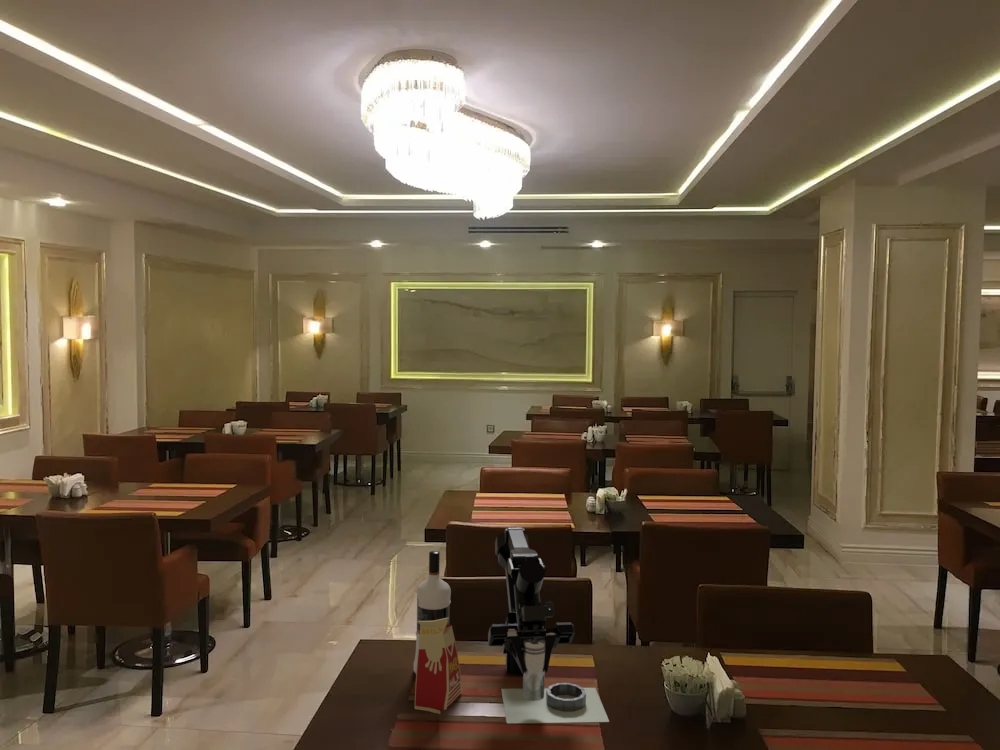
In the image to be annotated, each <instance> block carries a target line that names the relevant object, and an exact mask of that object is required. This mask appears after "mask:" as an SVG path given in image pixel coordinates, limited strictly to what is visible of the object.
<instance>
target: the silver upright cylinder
mask: <svg viewBox="0 0 1000 750" xmlns="http://www.w3.org/2000/svg"><path fill="white" fill-rule="evenodd" d="M524 668H525V673H524V674H523V675H522V689H523V697H524V698H525V699H527V700H530V701H538V700H541V699H543V698H544V688H545V639H544V638H527V639H525V640H524Z"/></svg>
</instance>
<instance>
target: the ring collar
mask: <svg viewBox="0 0 1000 750" xmlns="http://www.w3.org/2000/svg"><path fill="white" fill-rule="evenodd" d="M546 688H547V689H546V702H547V705H548V706H550V707H551V708H553V709H555V710H559V711H563V712H574V711H577V710H580V709H583V707H584V706H585V705H586V692H585V689H584V688H585V687H583V686H581V685H579V684H574V683H572V682H557V683H554V684H550V685H548V687H546ZM558 695H570V696H574V697H576V698H574V699H563V698H559V697H556V696H558Z"/></svg>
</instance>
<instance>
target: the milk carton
mask: <svg viewBox="0 0 1000 750" xmlns="http://www.w3.org/2000/svg"><path fill="white" fill-rule="evenodd" d="M448 618H449V619H450V616H449V617H448ZM448 618H444V619H439V620H434V621H417V620H416V623H417V622H418V623H419V624H420V639H419V649H418V659H417V672H416V673H415V685H414V686H415V687H414V688H415V689H414V710H417V711H418V710H420V711H426V712H431V713H434V714H439V715H441V710H442V711H443V710H447V709H448V708H449V707H451V705H452V704H453V703H454V702H455V701H456V700H457V699H458V698H459V697H460V696H461V695H462V694H463V689H462V688H463V687H462V685H463V684H462V674H461V668H460V661H459V655H458V649H457V644H456V639H455V635H454V630H453V625H451V624H450V623H449V624H448Z"/></svg>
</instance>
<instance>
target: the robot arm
mask: <svg viewBox="0 0 1000 750" xmlns="http://www.w3.org/2000/svg"><path fill="white" fill-rule="evenodd" d="M529 546H530V545H529V536H528V534H526V531H525V527H524V528H523V527H521V526H520V527H517V526H515V527H513V526H512V527H511V526H510V527H507V528H505V529H504V531H503V532H502V533H499V534H497V536H496V538H495V541H494V552H495V555H496V556H497V559H498V564H499V565H500V566H501V567H502V568H503V570H504V571H505V572H504V573H505V580H506V588H507V589H506V590H507V600H508V601H507V602H508V609H509V610H508V614H507V616H506V618H505V623H500V624H497V623H492V624H491V625H490V626H489V627H488V628H489V629H488V633H487V642H488V643H487V644H488V646H489V647H501V650H502V654H503V655H505V671H506V674H511V675H515V676H523V674H524V673H525V668H524V640H525V639H527V638H540V639H544V641H545V673H546V674H547V673H548V672H549V671H548V670H549V665H550V661H551V656H552V651H553V649H554V648H557V647H558V645H570V644H572V642H573V640H574V638H575V635H576V631H575V629H576V628H575V626H574V624H573V623H572V622H570V621H569V622H567V621H566V622H555V623H554V624H555V625H554V628H544V627H545V626H546V621H547V618H553V617H554V615H555V608H554V602H553V601H545V602H543V605H542V603H541V596H540V594H541V593H540V591H541V590H542V589H541V588H542V586H543V583H544V579H545V574H546V569H547V568H546V565H545V564H544V562H543V561H542V559H541V557H539V554H538V553H537V551H536V550H534V549H531V548H530V547H529Z"/></svg>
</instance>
